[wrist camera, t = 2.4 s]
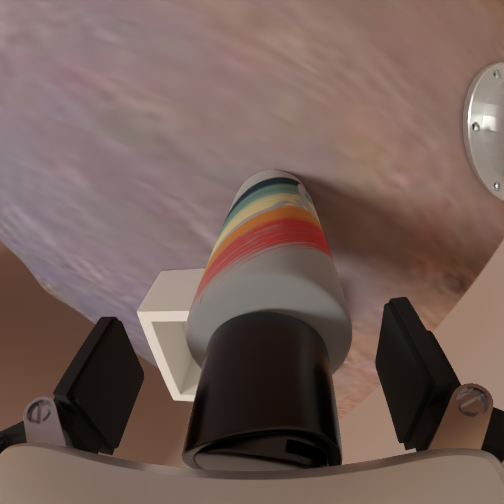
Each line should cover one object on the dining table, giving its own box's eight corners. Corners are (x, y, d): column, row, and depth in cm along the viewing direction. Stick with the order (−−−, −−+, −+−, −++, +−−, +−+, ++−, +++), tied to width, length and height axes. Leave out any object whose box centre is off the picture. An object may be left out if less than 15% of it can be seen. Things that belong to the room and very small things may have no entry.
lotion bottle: (326, 202, 23) (427, 465, 5) (276, 253, 25) (268, 522, 7) (269, 152, 22) (240, 379, 4) (220, 208, 24) (105, 463, 6)
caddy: (279, 263, 26) (280, 306, 20) (286, 353, 30) (287, 401, 25) (161, 270, 27) (136, 311, 21) (187, 356, 31) (173, 399, 26)
